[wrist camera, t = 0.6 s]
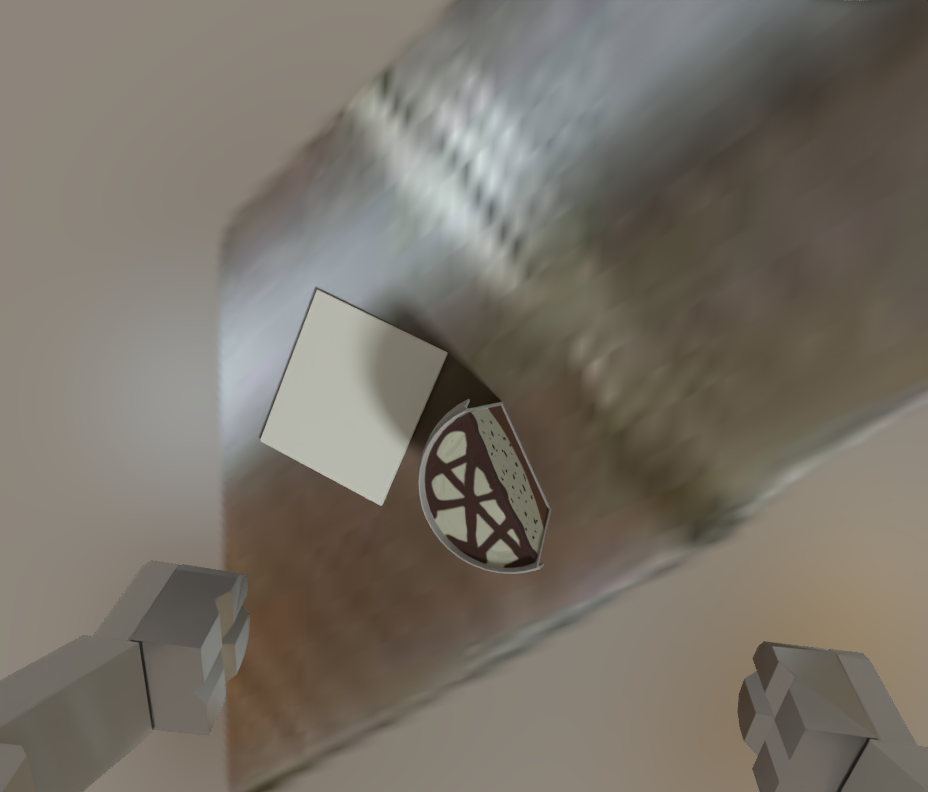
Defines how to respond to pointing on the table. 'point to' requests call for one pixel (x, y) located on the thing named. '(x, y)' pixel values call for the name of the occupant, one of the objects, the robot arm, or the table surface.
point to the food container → (483, 491)
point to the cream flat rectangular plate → (352, 396)
